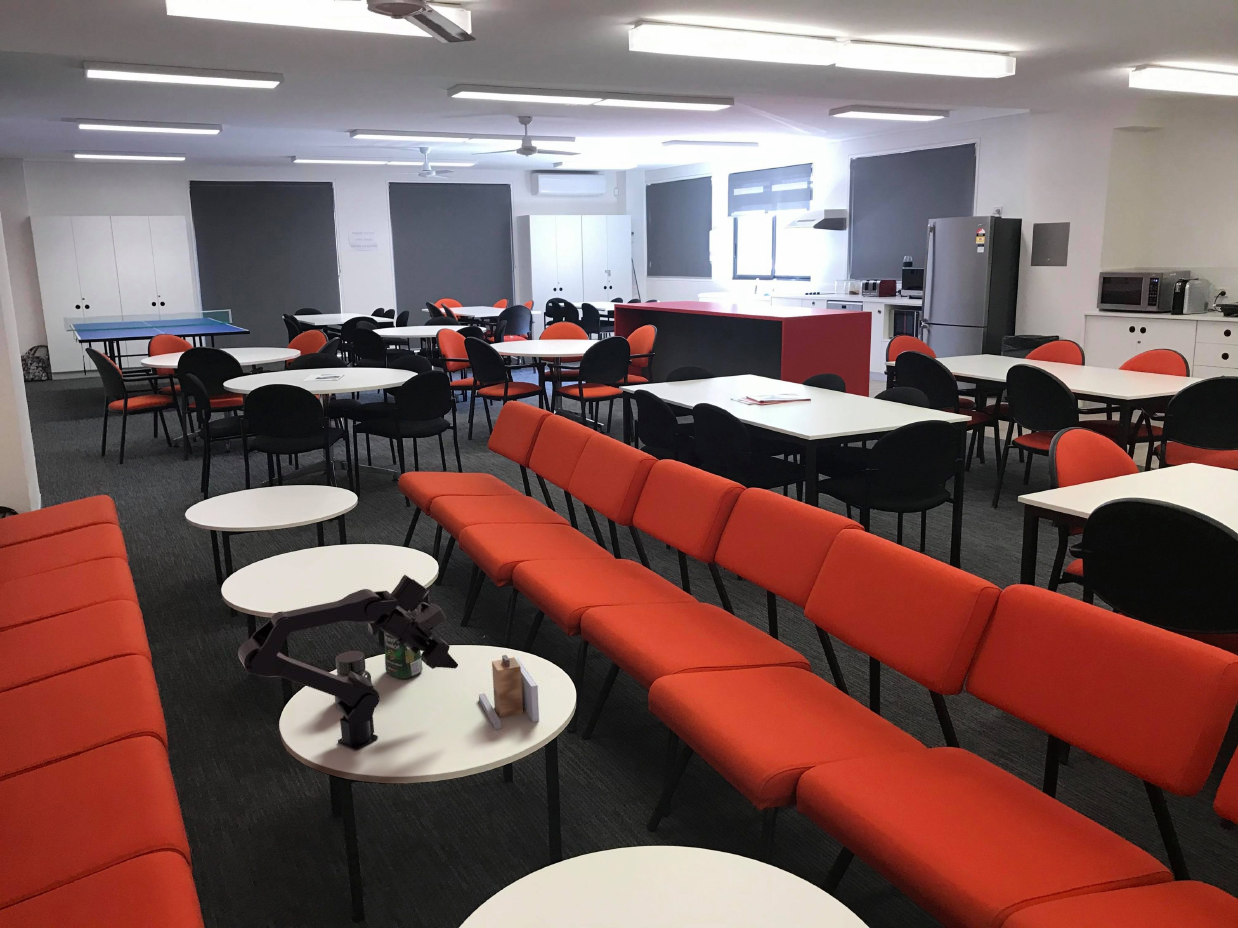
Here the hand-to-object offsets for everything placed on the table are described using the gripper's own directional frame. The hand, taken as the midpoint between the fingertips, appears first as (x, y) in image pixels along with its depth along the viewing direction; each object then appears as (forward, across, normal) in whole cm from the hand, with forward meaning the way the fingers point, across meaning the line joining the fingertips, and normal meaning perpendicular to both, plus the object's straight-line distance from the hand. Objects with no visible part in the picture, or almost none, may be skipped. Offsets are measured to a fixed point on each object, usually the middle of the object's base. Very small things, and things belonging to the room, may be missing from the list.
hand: (449, 659), depth 220 cm
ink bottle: (-3, +19, +22) cm, 30 cm away
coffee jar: (+8, +28, +11) cm, 31 cm away
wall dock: (+18, -7, +2) cm, 19 cm away
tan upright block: (+18, -7, +2) cm, 19 cm away
